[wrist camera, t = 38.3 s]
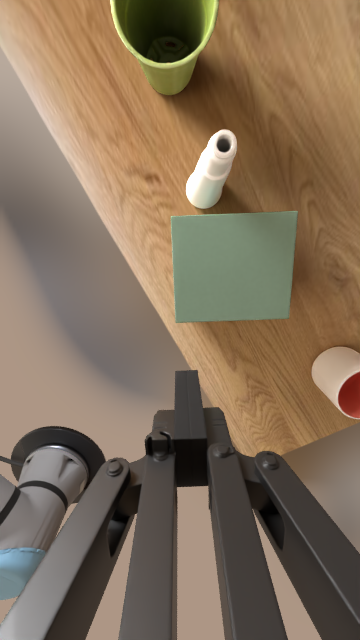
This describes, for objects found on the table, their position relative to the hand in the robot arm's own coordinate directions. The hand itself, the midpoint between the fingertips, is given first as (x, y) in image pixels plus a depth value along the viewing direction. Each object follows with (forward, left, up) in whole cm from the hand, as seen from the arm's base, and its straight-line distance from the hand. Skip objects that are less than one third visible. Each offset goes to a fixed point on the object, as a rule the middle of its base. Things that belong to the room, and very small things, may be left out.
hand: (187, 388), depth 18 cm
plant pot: (-1, +35, -33) cm, 48 cm away
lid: (+6, +6, -19) cm, 21 cm away
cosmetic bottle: (+4, +18, -33) cm, 38 cm away
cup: (+30, -16, -33) cm, 47 cm away
